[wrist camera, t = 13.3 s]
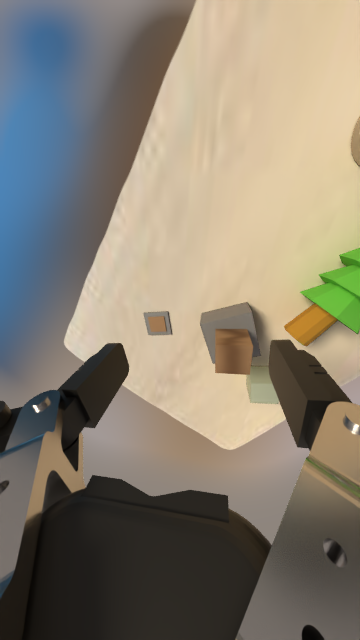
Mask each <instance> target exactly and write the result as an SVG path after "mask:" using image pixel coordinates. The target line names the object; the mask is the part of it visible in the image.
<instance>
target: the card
mask: <svg viewBox="0 0 360 640" xmlns="http://www.w3.org/2000/svg"><path fill="white" fill-rule="evenodd" d="M144 318H145V322H146V326H147V331H148V335H167V334H172V333H171V327H170V321H169V315H168V311H165V312H148V313H144Z"/></svg>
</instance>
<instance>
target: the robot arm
mask: <svg viewBox="0 0 360 640" xmlns="http://www.w3.org/2000/svg"><path fill="white" fill-rule="evenodd" d="M351 149H352V155H353V157H354V160H355V161H356V162H357V164H358V165H360V117H359V119H358V121H357V123H356V126H355V128H354V131H353V135H352V142H351ZM128 372H129V364H128V361H127V358H126V354H125V351H124V348H123V345H122V344H121V343H108V344H106V345H105V346H104V347H103V348H102V349H101V350H100V351H99V352H98V353H96V354H95V355H93V356H92V357H90V358H89V359H88V360H87V361H86V362H85V363H84V365H82V366H81V367H80V368H79V370H77V371H76V372H75V373H74V374H73V375H72V376H71V377H70V378H69V379H68V380H67V381H66V382H65V383H64V384H63V385H62V386H61V387H60V388H59V389H58V390H49V391H46V392H43V393H40V394H39V395H37V396H35V397H33V398H32V399H31V400H29V401H28V402H27V403H26V404H25V405H24V406H23V407H19V408H15V409H9V407H8V406H7V405H6V403H5V402H4V401H0V640H360V406H359V405H357V404H353V403H352V402H351V401H350V399H349V398H348V397H347V396H346V394H345V393H344V392H343V391H342V390H341V389H340V387H339V386H338V385H337V384H336V382H335V381H334V380H333V379H332V378H331V376H330V375H329V374H327V372H326V370H325V369H324V368H323V367H321V364H320V363H319V362H318V361H317V359H316V358H315V357H314V356H312V355H311V354H309V353H307V352H306V351H304V350H297V349H296V347H295V346H294V344H293V343H292V342H291V341H290V340H272V341H271V345H270V357H269V375H270V379H271V381H272V384H273V386H274V389H275V391H276V394H277V397H278V399H279V402H280V404H281V407H282V409H283V412H284V414H285V417H286V419H287V422H288V424H289V427H290V429H291V432H292V435H293V437H294V440H295V442H296V444H297V447H301V448H309V450H310V454H309V456H308V457H307V458H306V460H305V462H304V464H303V467H302V469H301V472H300V475H299V477H298V480H297V482H296V485H295V487H294V490H293V493H292V495H291V498H290V500H289V503H288V505H287V508H286V511H285V513H284V516H283V518H282V521H281V524H280V526H279V529H278V531H277V534H276V536H275V539H274V541H273V544H272V545H271V544H270V543H269V541H268V540H267V539H266V538H265V537H264V536H263V535H262V534H261V532H260V531H259V530H258V529H256V527H255V526H253V525H252V524H251V523H250V522H249V521H248V520H246V519H245V518H244V517H242V516H241V515H239V514H238V513H236V512H234V511H232V510H230V509H229V508H228V496H226V495H220V494H213V493H207V492H200V491H194V490H187V491H182V492H176V493H171V494H166V495H160V496H154V497H153V496H149V495H147V494H145V493H144V492H142V491H140V490H139V489H137V488H135V487H133V486H132V485H130V484H128V483H127V482H125V481H123V480H122V479H115V478H108V477H101V476H95V475H92V477H91V479H90V481H89V483H88V485H87V487H85V484H84V479H83V435H82V433H81V431H82V430H83V428H84V427H89V428H95V427H96V425H97V424H98V422H99V420H100V419H101V417H102V415H103V414H104V412H105V411H106V409H107V408H108V406H109V404H110V403H111V401H112V399H113V398H114V396H115V394H116V393H117V391H118V390H119V388H120V386H121V385H122V383H123V382H124V380H125V379H126V377H127V375H128Z"/></svg>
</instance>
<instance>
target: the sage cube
mask: <svg viewBox="0 0 360 640" xmlns="http://www.w3.org/2000/svg"><path fill="white" fill-rule="evenodd" d="M246 385H247V389H248V394H249V399H250V403H264V404H278V402H279V399H278V397H277V394H276V391H275V389H274V386H273V384H272V381H271V379H270V375H269V366H251V370H250V375H247V379H246Z"/></svg>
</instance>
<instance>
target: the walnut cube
mask: <svg viewBox="0 0 360 640" xmlns="http://www.w3.org/2000/svg"><path fill="white" fill-rule="evenodd" d="M252 352H253V344H252V341H251V339H250V336H249V333H248V330H247V329H215V373H227V374H245V375H250V370H251V361H252Z"/></svg>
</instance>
